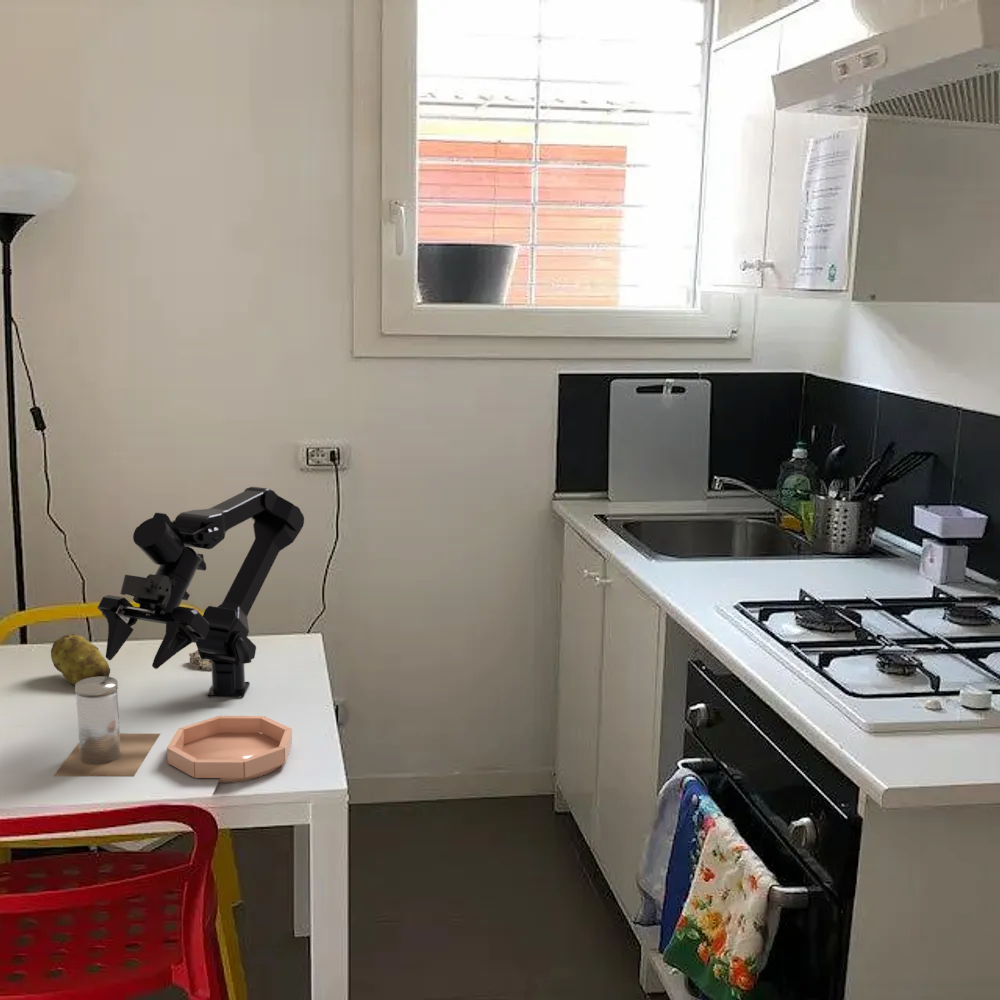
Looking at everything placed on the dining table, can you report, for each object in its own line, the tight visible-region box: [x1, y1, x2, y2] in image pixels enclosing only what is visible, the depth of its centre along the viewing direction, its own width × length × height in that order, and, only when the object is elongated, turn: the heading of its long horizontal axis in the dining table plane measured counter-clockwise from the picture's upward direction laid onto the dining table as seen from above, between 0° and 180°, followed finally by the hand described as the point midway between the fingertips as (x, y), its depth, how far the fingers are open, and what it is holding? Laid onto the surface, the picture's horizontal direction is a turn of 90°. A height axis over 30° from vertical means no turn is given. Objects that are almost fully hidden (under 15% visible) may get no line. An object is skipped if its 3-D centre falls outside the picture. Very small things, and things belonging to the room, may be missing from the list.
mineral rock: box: [188, 649, 212, 672], centre depth 234 cm, size 11×4×8 cm
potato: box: [50, 633, 111, 686], centre depth 223 cm, size 8×13×8 cm, turn 35°
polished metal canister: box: [74, 676, 121, 765], centre depth 189 cm, size 6×6×12 cm
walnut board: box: [53, 733, 161, 777], centre depth 191 cm, size 16×12×1 cm
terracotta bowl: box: [166, 715, 293, 784], centre depth 191 cm, size 18×18×4 cm
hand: (130, 663), depth 194 cm, fingers open, 9 cm apart
